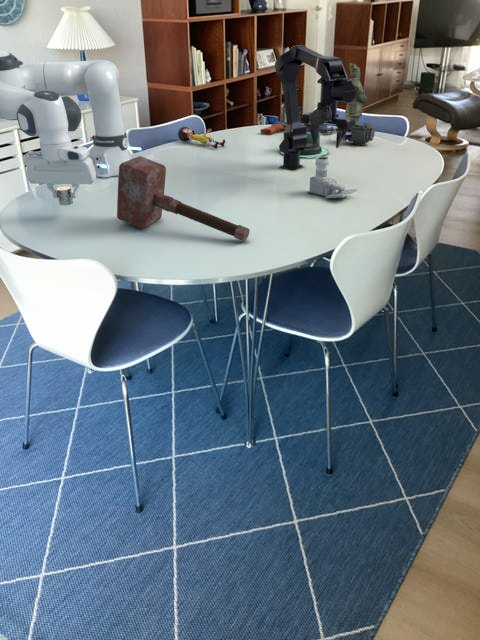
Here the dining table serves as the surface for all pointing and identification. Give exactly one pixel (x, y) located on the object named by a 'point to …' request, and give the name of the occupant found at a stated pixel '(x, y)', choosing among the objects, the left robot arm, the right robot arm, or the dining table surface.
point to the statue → (357, 104)
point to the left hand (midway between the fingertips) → (65, 197)
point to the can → (64, 195)
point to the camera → (326, 182)
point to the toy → (360, 134)
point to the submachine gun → (282, 125)
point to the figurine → (197, 137)
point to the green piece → (312, 147)
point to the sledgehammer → (158, 199)
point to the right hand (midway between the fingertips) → (326, 146)
